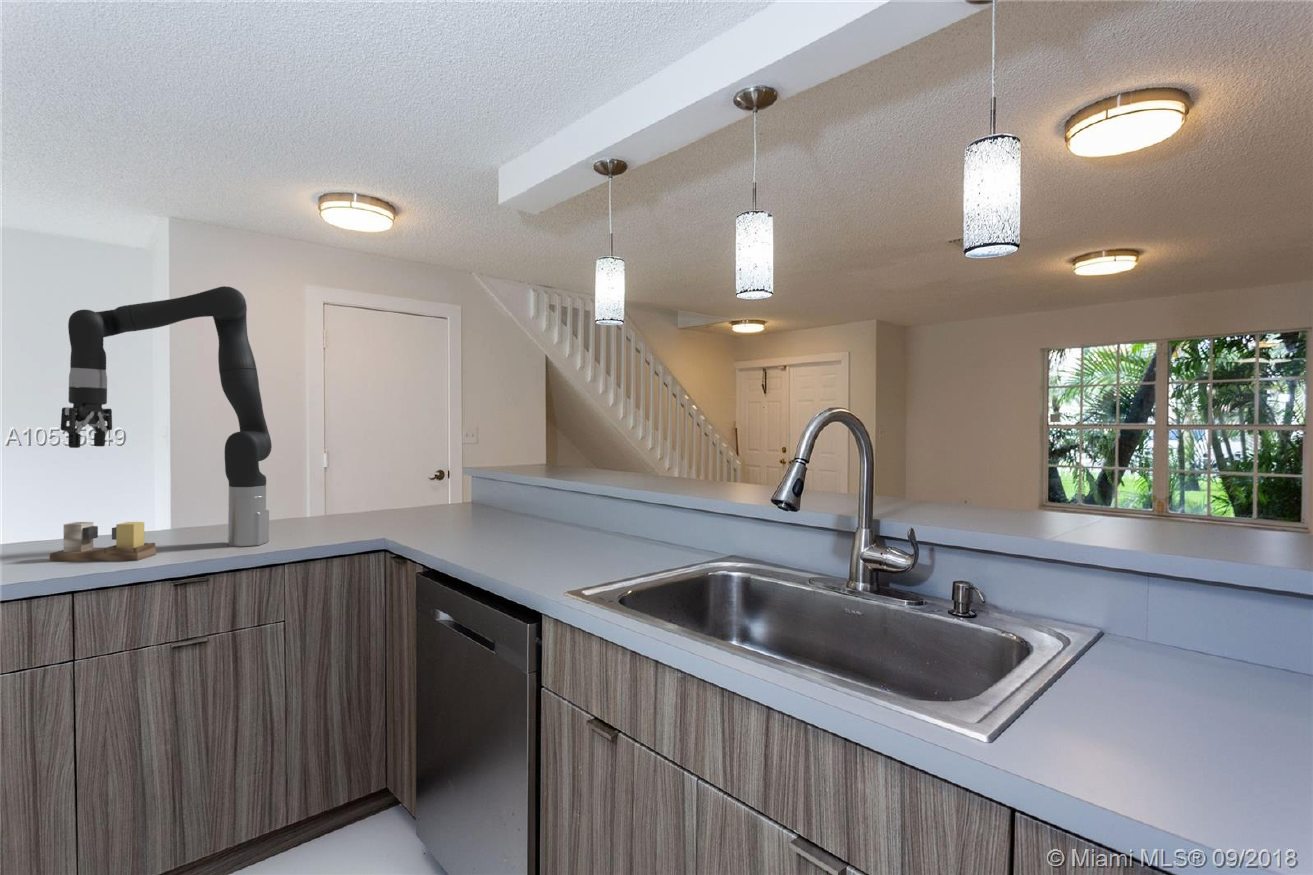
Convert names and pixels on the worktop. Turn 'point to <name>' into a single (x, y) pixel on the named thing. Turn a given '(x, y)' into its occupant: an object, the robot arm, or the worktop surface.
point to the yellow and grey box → (128, 534)
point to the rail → (81, 548)
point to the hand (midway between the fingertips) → (87, 447)
